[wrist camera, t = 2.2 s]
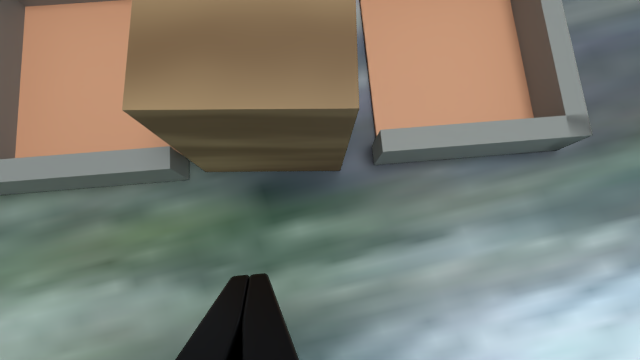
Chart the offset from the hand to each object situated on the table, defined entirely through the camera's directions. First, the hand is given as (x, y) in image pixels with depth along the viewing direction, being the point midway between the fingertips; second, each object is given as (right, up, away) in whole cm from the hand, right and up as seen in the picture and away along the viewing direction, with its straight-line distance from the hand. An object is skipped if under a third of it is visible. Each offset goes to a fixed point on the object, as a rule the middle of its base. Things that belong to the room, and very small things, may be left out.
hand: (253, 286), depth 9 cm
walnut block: (-1, +10, +15) cm, 18 cm away
